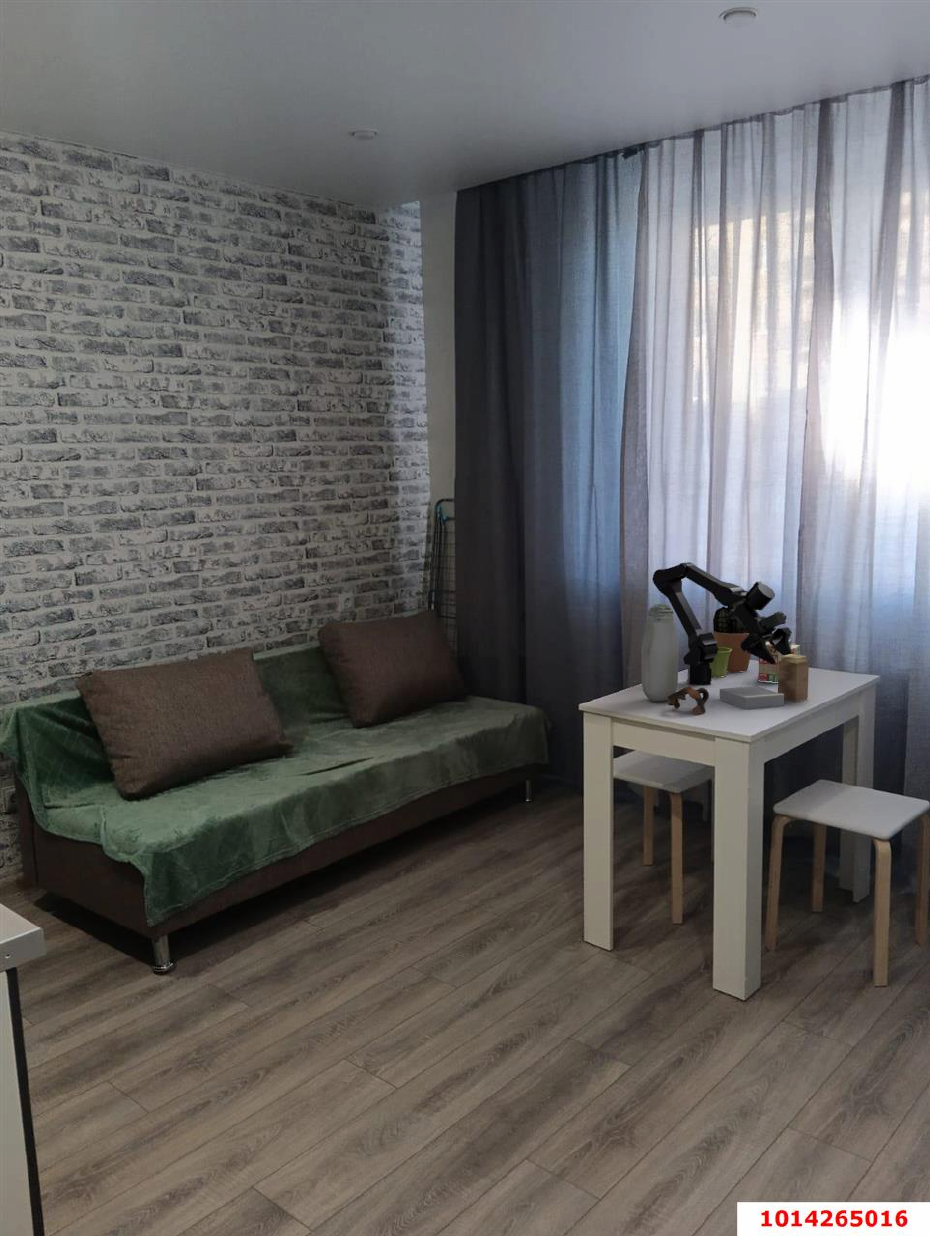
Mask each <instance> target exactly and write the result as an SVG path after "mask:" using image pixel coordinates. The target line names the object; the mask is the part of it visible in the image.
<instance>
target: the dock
mask: <svg viewBox="0 0 930 1236" xmlns="http://www.w3.org/2000/svg"><path fill="white" fill-rule="evenodd" d="M719 700H721V701H724V702H726V703H729V704H731V705H734V706H737V707H740V708H742V709H745V710H750V709H761V708H763V709H764V708H771V707H773V708H774V707H783V706H784V705H785V704H784V703H785V700H784V694H782V693H780V694H779V693H778V692H776V691H774V690H773V691H772V690H770V689H768V688H763V687H761V686H758V685H752V686H751V685H750V686H739V687H737V686H736V687H728V688H727V687H726V688H719Z"/></svg>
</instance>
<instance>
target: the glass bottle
mask: <svg viewBox="0 0 930 1236" xmlns="http://www.w3.org/2000/svg"><path fill="white" fill-rule="evenodd" d="M646 615H647V618H646V619H647V620H646V625H645V630H644V634H643V637H642V642H641V648H640V649H641V653H640V656H641V657H640V658H641V687H642V691H643V693H644V696H645V697H646V698H647V699H648V700H650V701H654V702H659V703H660V702H665V701H669V699H668V698H667V697H668V696H670V695H671V694H673V693H675V692H677V691H678V684H679V683H678V682H679V660H680V659H679V658H680V657H679V654H680V653H679V651H680V648H679V647H680V646H679V641H678V635H677V632H676V626H675V611H674V609H673V607H672V606H671V605H669V604H667V603H658V604H657V603H656V604H654V605H652V606H651V607H649V609H648V611H647V614H646Z"/></svg>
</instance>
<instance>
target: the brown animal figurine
mask: <svg viewBox="0 0 930 1236" xmlns="http://www.w3.org/2000/svg"><path fill="white" fill-rule="evenodd" d="M701 694H702V695H701ZM686 695H689V697H690V698H691V699H693V700H694V701H695V702H696V706H693V707H692V711H693V712H694V715H695V716H698V715H700V714H703V713H705V712H706V709H705V704H706V703H707V702H708V700H709V697H710V694H709V692H708V690H707V689H706V688H704V687H700V688H698V689H695V688H693V687H692V685H690V684H689V685H687V686H685V687H684V688H681V689H679V690H676V692H675V693H673V694H671V695H670V696H668V697H667V698H668V699H669V700H668V706H673V707H674V708H675V709H676V710H677V709H679V708H680V706H681V704H680V702H679V700H680V701H686V700H687V698H686Z"/></svg>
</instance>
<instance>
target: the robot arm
mask: <svg viewBox="0 0 930 1236" xmlns="http://www.w3.org/2000/svg"><path fill="white" fill-rule="evenodd" d="M684 579H687V580H689V581H691V582H693V583H695V584H696V585H698V586H699V587H701V588H703V589H705V591H708V592H709V593H711V594H712V596H713V597H714V599H715V600H716V601H717V602H718V603H720V605H722V607H723V606H724V607H728V606H734V605H737V606H736V607H735V609H732V610H729V617H728V618H729V619H733V618H737V619H738V620H739V621H740V623H741V624H742V625H743V627H744V629H743V631H744V633H747V632H748V633H749V635H748V636H747V637H746V638H745V639H744V640H743V641H742V642H741V643H740V648H741V649H742V650H743V652H747V653H748V654H751V655H752V656H754V657H757V658H758V659H759V658H761V659H763V660H765V661H766V662H768V663H770V664H772V665H774V664H775V663H776V662H775V660H774V658H773V656H772V655H771V653H770V652H769V650H768V649H767V647H766V642H769V643H770V644H771V645H772V646H774V647H773V648H774V649H775V650H777V651H778V652H779V653H781V654H782V655H783V656H784V655H789V654H792V652H791V649H790V646H789V640H790V638H791V635H792V633H793V632H792V630H791V629H790V628H789V627H787V626H786V627H785V626H784V627H778V626H780V625H785V624H786V623H787V622H786V620H787V617H788V616H787V615H786V614H785V613H784V612H783V611H781V610H779V611H777V612H774V613H773V614H771V615H768V616H767V617H766V616H765V615H762V616H761V615H760V614H759V613H758V611H762V610H764V609H765V608H766V607H767V605H769V604H770V603H771V602H772V601H773V600H774V598H775V597H776V594H775V591H774V589H772V588H771V587H769V586H768V585H766V584H764V583H763V582H762V581H759V580H758V581H755V583H754V584H753V585H752V587H751V588H750V589H749V590H745V589H744V588H743V587H742V586H741V585H737V584H734V583H731V582H726V581H723V580H720V579H718V578H717V577H715V576H714V575H711V574H710V573H708V572H707V571H705V570H704V569H702V568H700V567H698V566H697V565H696V564H694V563H693V562H690V561H688V562H681V563H678V564H677V565H675V566H671V567H668V568H660V569H657V570H655V571H654V572H653V575H652V583H653V585H654V586H655V588H656V589H657V590H658V591H659V592H660V594H663V596H664V597H666V598H667V599H668V601H669V602H670V606H671V608H672V609H673V612H674V614H675V615H676V616H677V618H678V620H679V622H680V624H681V626H682V628H683V630H684V631H685V634H686V636H687V647H688V650H689V651H688V652H687V653H686V654H685V655H684V656H683V658H682V660H683V662H684V663H683V664H684V665H687V679H686V682H687V684H689V686H690V685H691V686H696V685H697V686H698V685H702V686H703V685H706V686H707V685H709V686H710V685H712V681H713V680H712V677H713V676H712V669H711V668H710V664H709V663H713V661H714V658H715V656H716V655H717V652H718V646H717V644H718V642H717V641H716V640H715V638H714V636H713V631H709V632H706V631H704V630H703V628H702V626H701V625H700V623H699V621H698V619H697V617H696V615H695V613H694V611H693V609H692V608H691V606H690V604H689V602H688V600H687V598H686V596H685V595H684V592H683V581H682V580H684ZM744 600H745V601H744ZM776 627H778V628H776Z"/></svg>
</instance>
